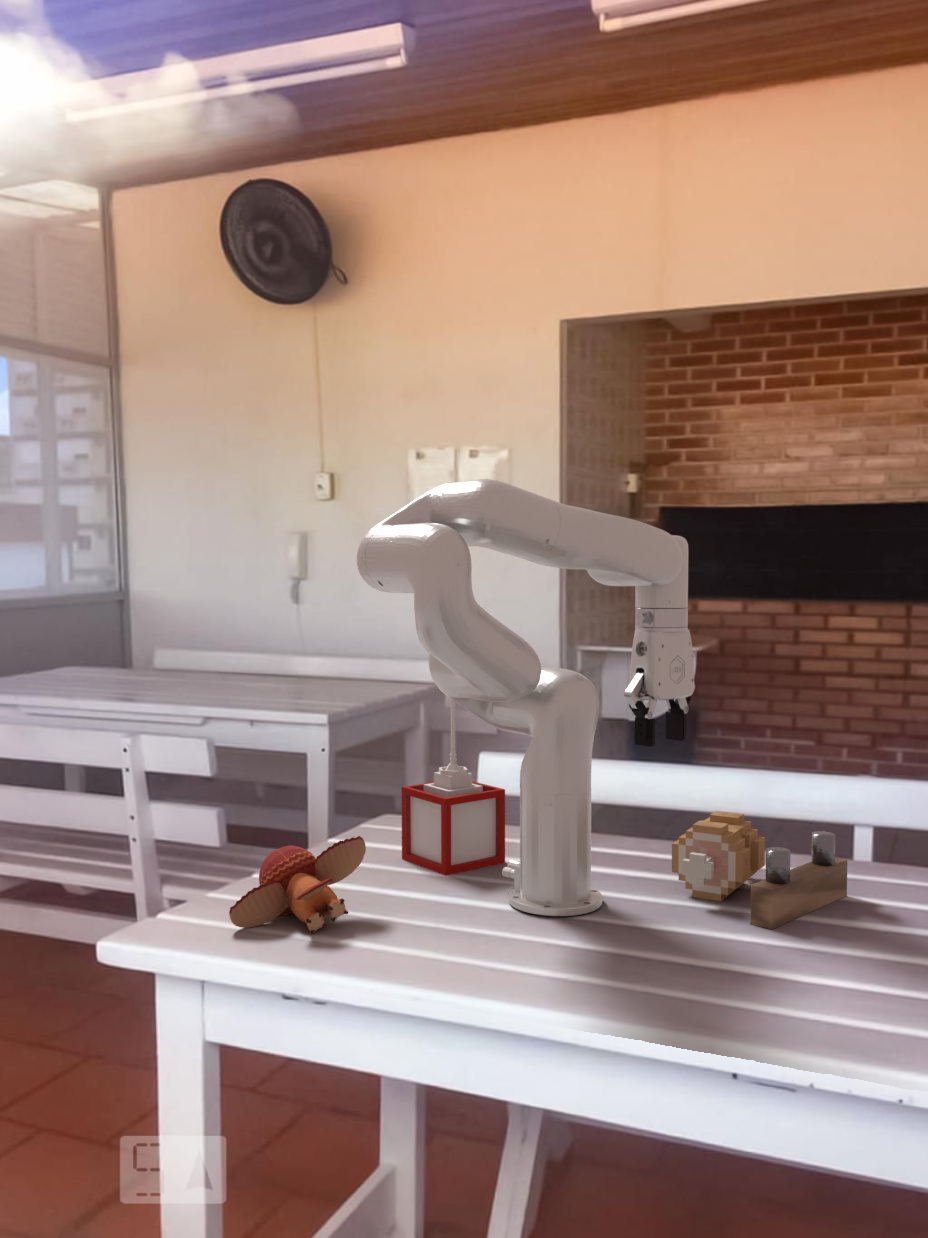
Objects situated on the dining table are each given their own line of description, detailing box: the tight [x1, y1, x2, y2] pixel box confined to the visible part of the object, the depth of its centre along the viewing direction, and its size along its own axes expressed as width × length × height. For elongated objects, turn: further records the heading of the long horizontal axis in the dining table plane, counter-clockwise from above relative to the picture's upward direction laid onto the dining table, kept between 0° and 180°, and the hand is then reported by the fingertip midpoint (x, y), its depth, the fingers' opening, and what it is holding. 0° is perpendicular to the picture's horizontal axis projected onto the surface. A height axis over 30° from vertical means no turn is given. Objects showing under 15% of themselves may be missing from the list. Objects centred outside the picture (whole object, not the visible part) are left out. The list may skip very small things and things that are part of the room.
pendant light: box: [401, 699, 506, 876], centre depth 167 cm, size 11×11×30 cm
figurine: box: [228, 835, 367, 935], centre depth 140 cm, size 20×9×15 cm
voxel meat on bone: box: [671, 810, 766, 902], centre depth 152 cm, size 10×18×10 cm, turn 148°
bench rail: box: [749, 830, 848, 930], centre depth 143 cm, size 3×20×9 cm, turn 134°
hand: (660, 741), depth 158 cm, fingers open, 6 cm apart
